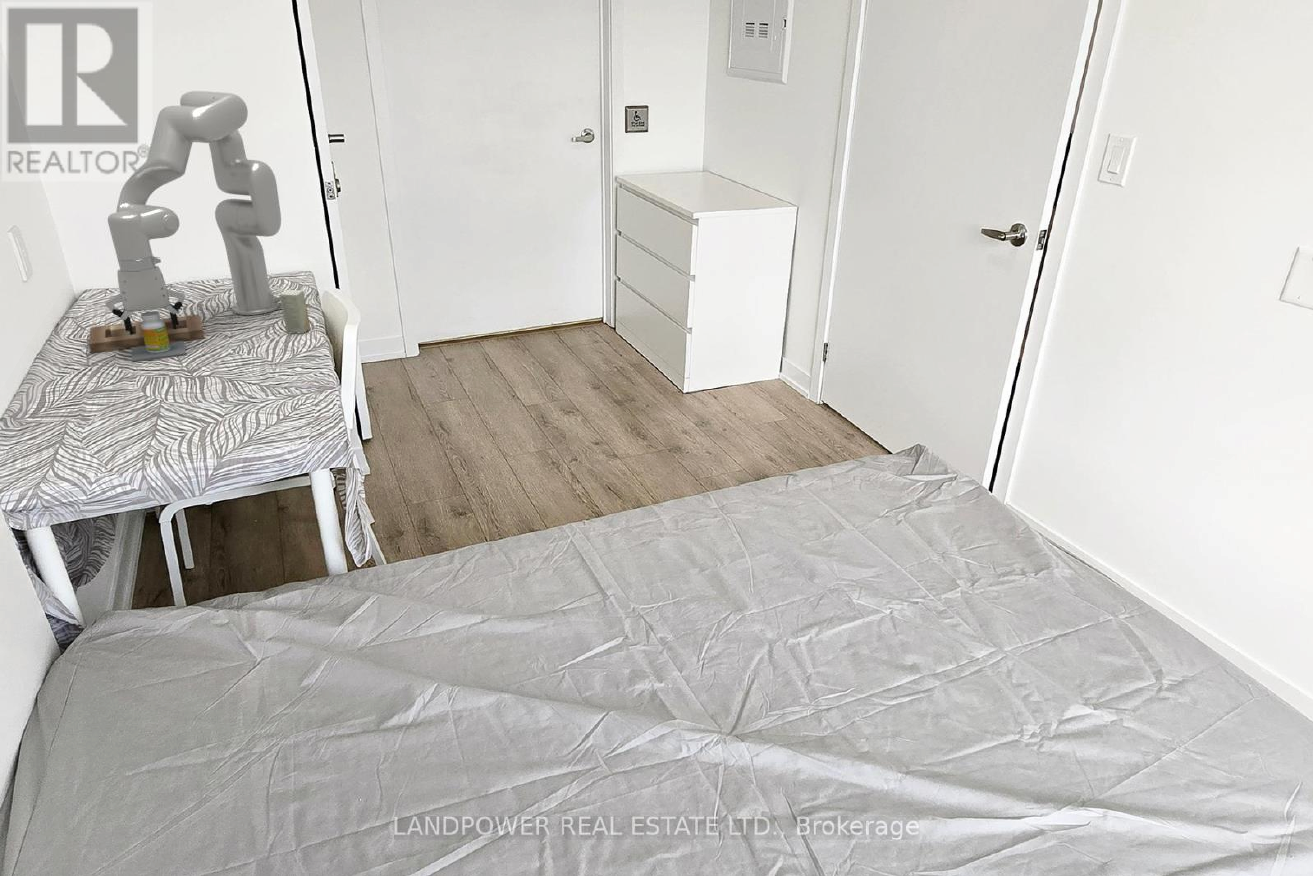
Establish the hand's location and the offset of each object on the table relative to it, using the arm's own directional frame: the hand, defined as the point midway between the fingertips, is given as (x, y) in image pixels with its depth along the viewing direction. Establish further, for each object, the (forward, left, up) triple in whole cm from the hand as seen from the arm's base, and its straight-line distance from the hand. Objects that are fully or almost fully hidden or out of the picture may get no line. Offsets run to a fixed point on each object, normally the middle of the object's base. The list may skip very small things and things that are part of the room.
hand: (153, 330), depth 216 cm
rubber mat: (0, 0, -6) cm, 6 cm away
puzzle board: (+2, -13, -6) cm, 14 cm away
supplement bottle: (0, 0, -6) cm, 6 cm away
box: (-34, -2, -6) cm, 35 cm away
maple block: (+8, -13, -6) cm, 16 cm away
